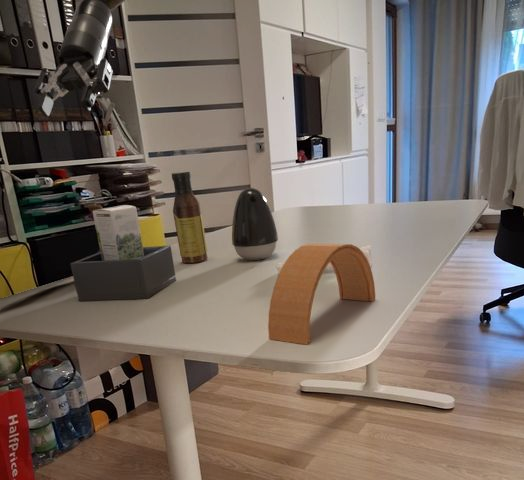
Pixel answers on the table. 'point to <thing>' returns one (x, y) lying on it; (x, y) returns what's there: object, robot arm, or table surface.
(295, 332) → the arch
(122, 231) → the syrup box
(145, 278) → the open box
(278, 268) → the figurine
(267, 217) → the black white egg shape
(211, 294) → the table surface
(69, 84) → the robot arm
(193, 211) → the sauce bottle
